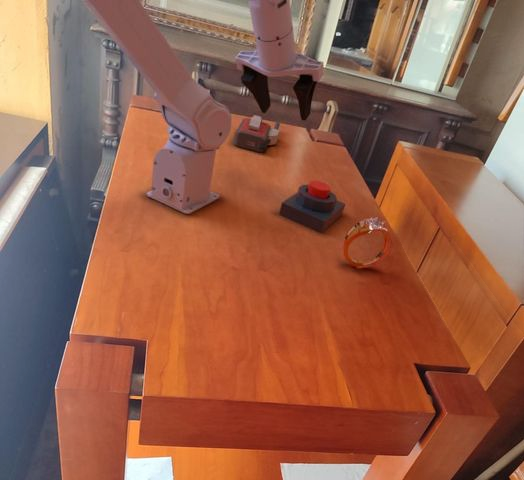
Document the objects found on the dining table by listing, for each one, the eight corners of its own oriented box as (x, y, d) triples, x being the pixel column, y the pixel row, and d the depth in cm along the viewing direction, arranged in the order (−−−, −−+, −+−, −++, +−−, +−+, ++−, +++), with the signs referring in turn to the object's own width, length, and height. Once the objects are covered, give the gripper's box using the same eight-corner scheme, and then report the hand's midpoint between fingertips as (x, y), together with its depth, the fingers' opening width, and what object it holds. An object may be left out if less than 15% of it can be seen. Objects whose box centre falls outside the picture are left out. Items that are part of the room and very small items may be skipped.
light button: (322, 202, 80) (325, 192, 79) (303, 194, 81) (306, 184, 80) (330, 196, 83) (333, 186, 82) (311, 188, 84) (314, 178, 83)
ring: (337, 269, 72) (356, 220, 67) (334, 258, 74) (351, 209, 69) (381, 276, 73) (403, 229, 68) (377, 265, 76) (397, 218, 70)
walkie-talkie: (272, 158, 101) (280, 130, 117) (277, 136, 98) (285, 111, 114) (231, 147, 101) (245, 121, 116) (235, 125, 98) (248, 101, 113)
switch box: (321, 233, 80) (328, 210, 77) (278, 214, 82) (284, 192, 79) (341, 215, 87) (349, 194, 84) (302, 198, 89) (308, 177, 86)
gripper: (330, 18, 70) (334, 104, 82) (243, 10, 75) (259, 91, 87) (309, 48, 68) (316, 132, 79) (221, 37, 73) (241, 117, 85)
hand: (285, 112), depth 83 cm, fingers open, 7 cm apart
